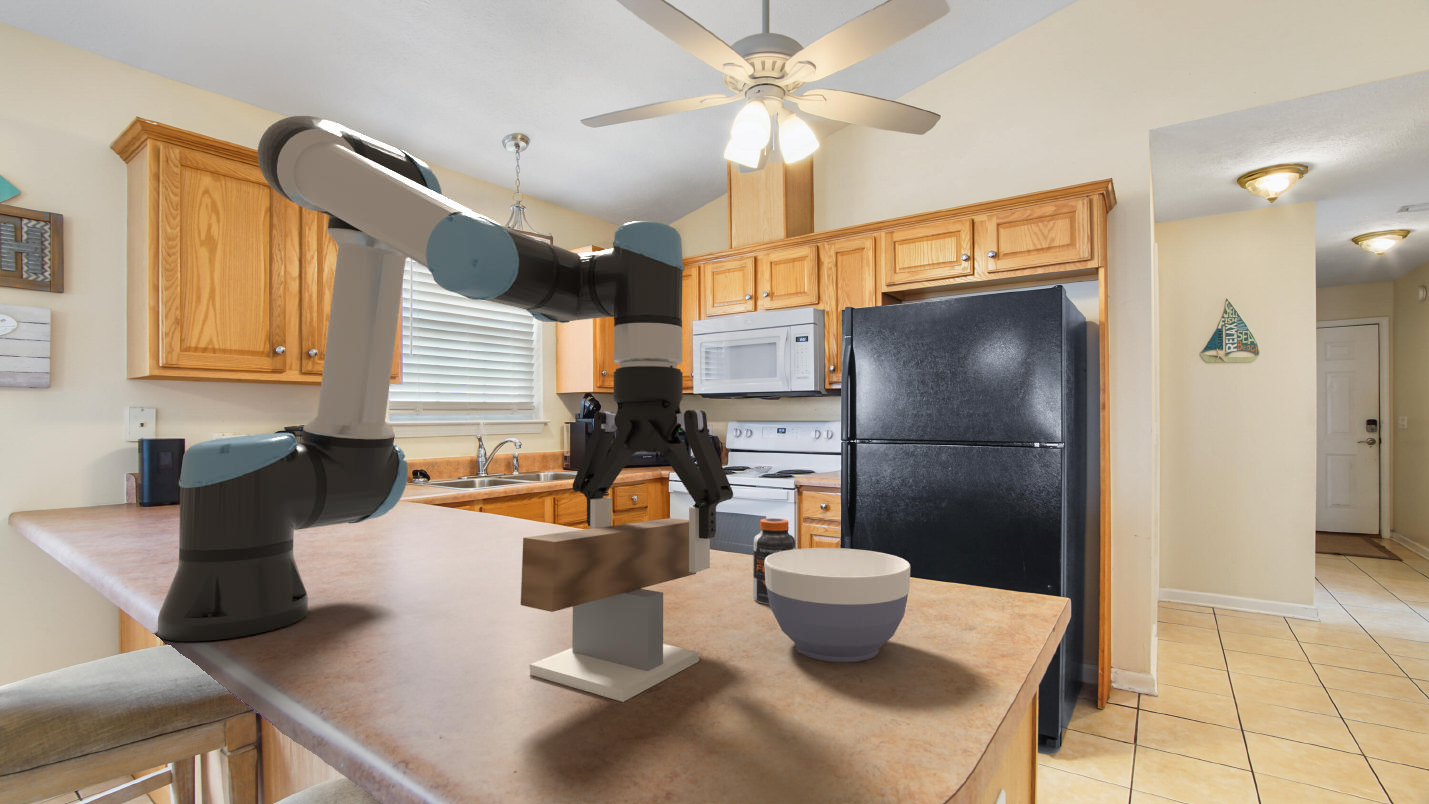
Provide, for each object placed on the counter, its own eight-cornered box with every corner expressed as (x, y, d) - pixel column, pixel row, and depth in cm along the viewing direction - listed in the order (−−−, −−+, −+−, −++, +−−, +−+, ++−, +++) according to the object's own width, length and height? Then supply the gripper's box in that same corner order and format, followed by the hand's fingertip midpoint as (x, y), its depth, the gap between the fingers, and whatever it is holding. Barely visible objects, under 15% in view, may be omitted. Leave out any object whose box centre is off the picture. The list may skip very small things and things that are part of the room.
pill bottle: (750, 604, 91) (750, 521, 91) (755, 593, 97) (755, 516, 97) (794, 606, 90) (794, 522, 90) (796, 595, 96) (796, 516, 96)
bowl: (921, 636, 77) (920, 554, 77) (898, 685, 63) (896, 583, 63) (790, 619, 84) (790, 543, 84) (742, 660, 69) (742, 568, 70)
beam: (551, 611, 57) (554, 541, 58) (520, 605, 59) (523, 537, 60) (696, 573, 76) (697, 520, 76) (668, 569, 78) (669, 518, 78)
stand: (529, 674, 65) (530, 592, 66) (611, 641, 75) (611, 570, 76) (622, 701, 59) (623, 611, 59) (698, 661, 69) (698, 584, 69)
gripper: (765, 364, 69) (765, 569, 68) (588, 374, 82) (587, 545, 82) (727, 357, 62) (727, 584, 62) (542, 369, 76) (540, 555, 75)
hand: (647, 562), depth 72 cm, fingers open, 13 cm apart
